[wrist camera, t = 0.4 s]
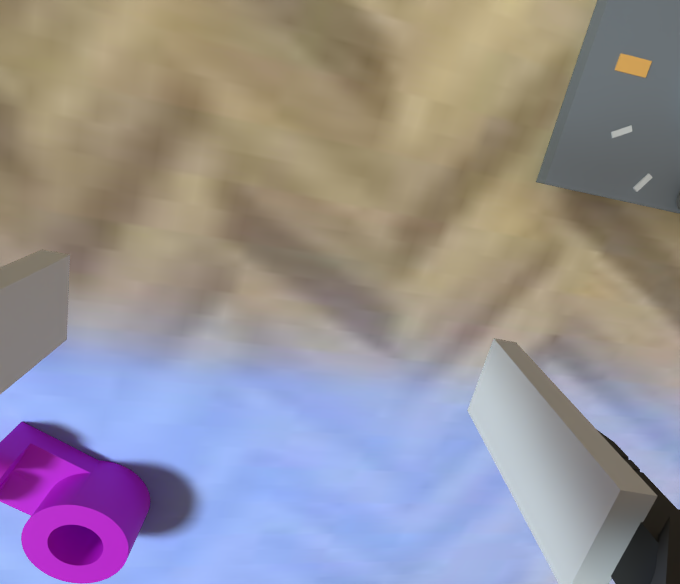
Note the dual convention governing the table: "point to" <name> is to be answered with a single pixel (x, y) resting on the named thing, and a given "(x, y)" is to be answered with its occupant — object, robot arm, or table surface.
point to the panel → (622, 108)
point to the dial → (678, 201)
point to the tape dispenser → (71, 505)
